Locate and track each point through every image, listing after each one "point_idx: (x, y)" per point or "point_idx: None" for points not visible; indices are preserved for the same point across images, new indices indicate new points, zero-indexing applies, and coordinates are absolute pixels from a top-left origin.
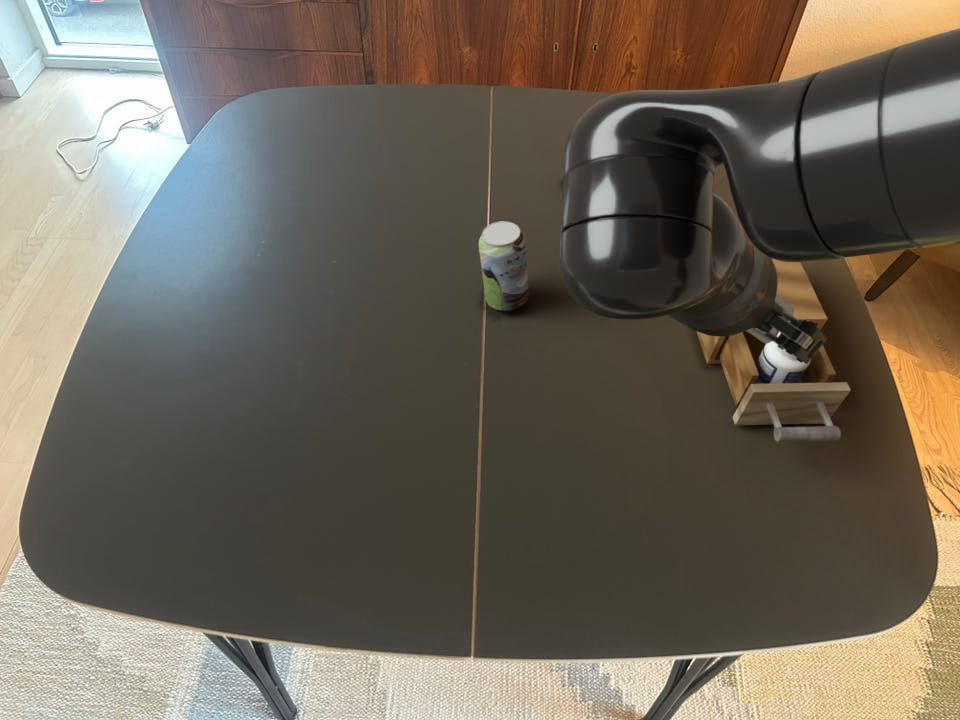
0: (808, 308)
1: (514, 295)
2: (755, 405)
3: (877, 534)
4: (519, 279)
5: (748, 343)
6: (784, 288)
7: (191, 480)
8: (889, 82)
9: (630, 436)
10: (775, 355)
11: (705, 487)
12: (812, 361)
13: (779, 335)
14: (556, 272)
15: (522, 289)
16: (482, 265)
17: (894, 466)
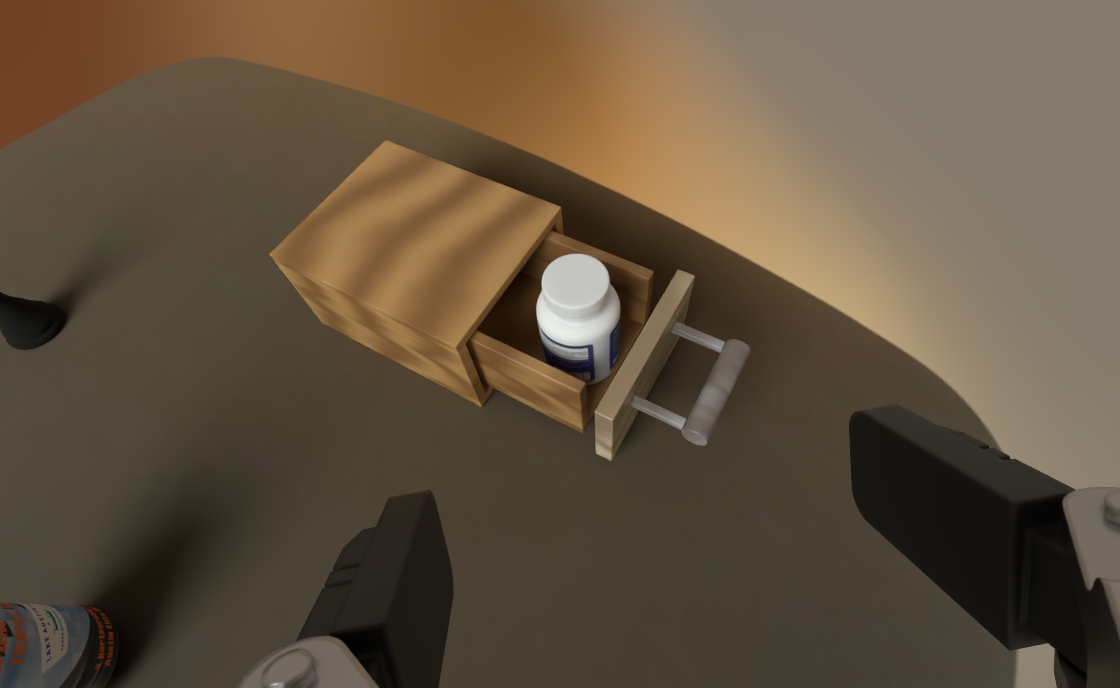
0: (525, 216)
1: (70, 679)
2: (620, 423)
3: (877, 407)
4: (35, 660)
5: (498, 326)
6: (468, 217)
7: None
8: None
9: (519, 658)
10: (573, 331)
11: (685, 602)
12: None
13: (1011, 613)
14: (130, 506)
15: (74, 650)
16: None
17: (784, 301)
